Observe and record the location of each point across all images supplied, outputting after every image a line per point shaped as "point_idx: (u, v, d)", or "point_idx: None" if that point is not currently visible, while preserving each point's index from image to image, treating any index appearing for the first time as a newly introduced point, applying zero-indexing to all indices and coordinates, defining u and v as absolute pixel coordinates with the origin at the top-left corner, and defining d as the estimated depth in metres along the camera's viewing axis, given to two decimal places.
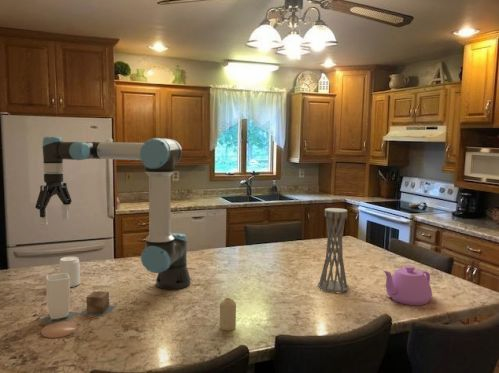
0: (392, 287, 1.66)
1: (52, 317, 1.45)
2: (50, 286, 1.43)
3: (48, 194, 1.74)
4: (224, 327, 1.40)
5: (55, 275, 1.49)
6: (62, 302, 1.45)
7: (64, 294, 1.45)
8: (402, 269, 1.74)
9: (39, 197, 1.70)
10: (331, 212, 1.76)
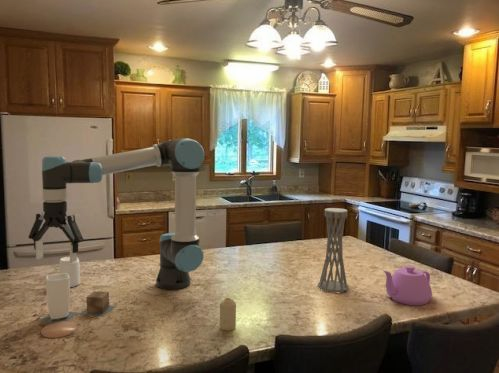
0: (392, 287, 1.66)
1: (52, 317, 1.45)
2: (50, 286, 1.43)
3: None
4: (224, 327, 1.40)
5: (55, 275, 1.49)
6: (62, 302, 1.45)
7: (64, 294, 1.45)
8: (402, 269, 1.74)
9: None
10: (331, 212, 1.76)
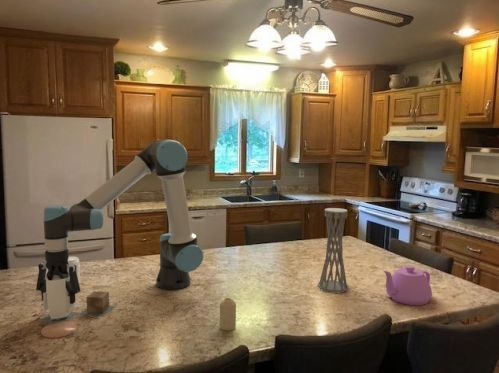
0: (392, 287, 1.66)
1: (52, 317, 1.45)
2: (50, 286, 1.43)
3: None
4: (224, 327, 1.40)
5: (55, 275, 1.49)
6: (62, 302, 1.45)
7: (64, 294, 1.45)
8: (402, 269, 1.74)
9: None
10: (331, 212, 1.76)
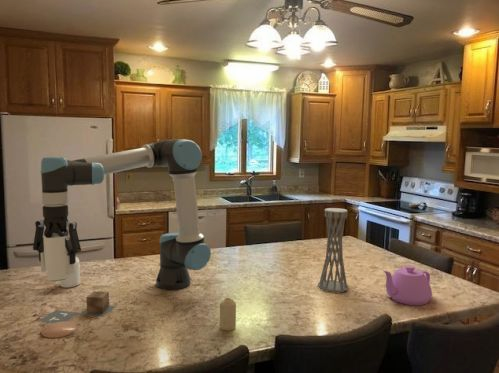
0: (392, 287, 1.66)
1: (50, 278, 1.33)
2: (48, 244, 1.31)
3: None
4: (224, 327, 1.40)
5: (53, 234, 1.37)
6: (61, 262, 1.33)
7: (63, 254, 1.33)
8: (402, 269, 1.74)
9: None
10: (331, 212, 1.76)
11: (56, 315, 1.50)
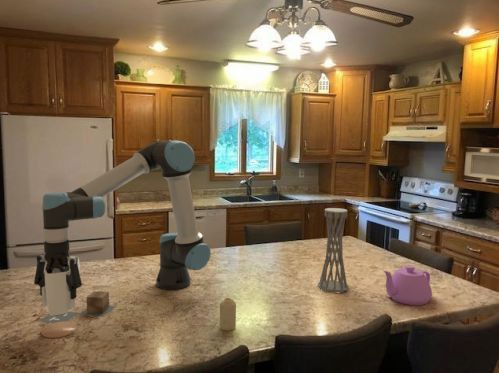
0: (392, 287, 1.66)
1: (51, 313, 1.34)
2: (49, 280, 1.32)
3: None
4: (224, 327, 1.40)
5: (55, 268, 1.39)
6: (62, 297, 1.34)
7: (64, 289, 1.34)
8: (402, 269, 1.74)
9: None
10: (331, 212, 1.76)
11: None
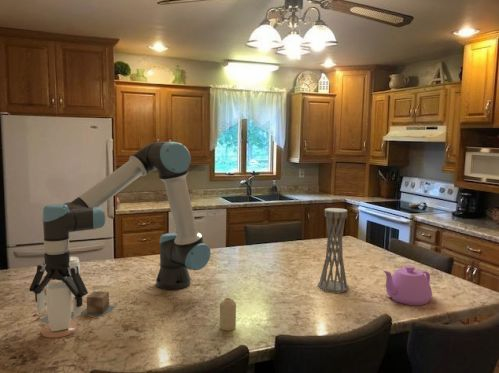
0: (392, 287, 1.66)
1: (52, 329, 1.35)
2: (51, 296, 1.33)
3: None
4: (224, 327, 1.40)
5: (56, 283, 1.39)
6: (63, 313, 1.35)
7: (65, 305, 1.35)
8: (402, 269, 1.74)
9: None
10: (331, 212, 1.76)
11: None
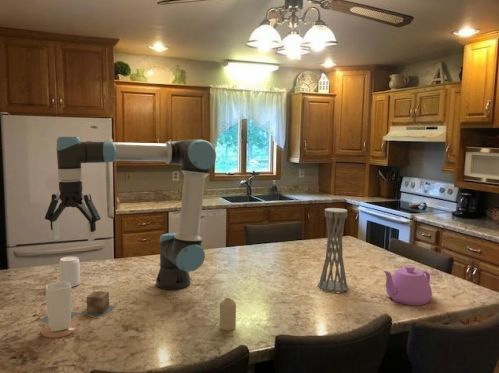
0: (392, 287, 1.66)
1: (52, 329, 1.35)
2: (50, 296, 1.33)
3: None
4: (224, 327, 1.40)
5: (55, 284, 1.39)
6: (63, 313, 1.35)
7: (65, 305, 1.35)
8: (402, 269, 1.74)
9: None
10: (331, 212, 1.76)
11: None
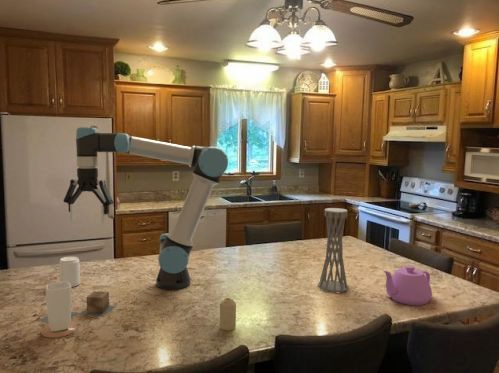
0: (392, 287, 1.66)
1: (52, 329, 1.35)
2: (50, 296, 1.33)
3: None
4: (224, 327, 1.40)
5: (55, 284, 1.39)
6: (63, 313, 1.35)
7: (65, 305, 1.35)
8: (402, 269, 1.74)
9: None
10: (331, 212, 1.76)
11: None
